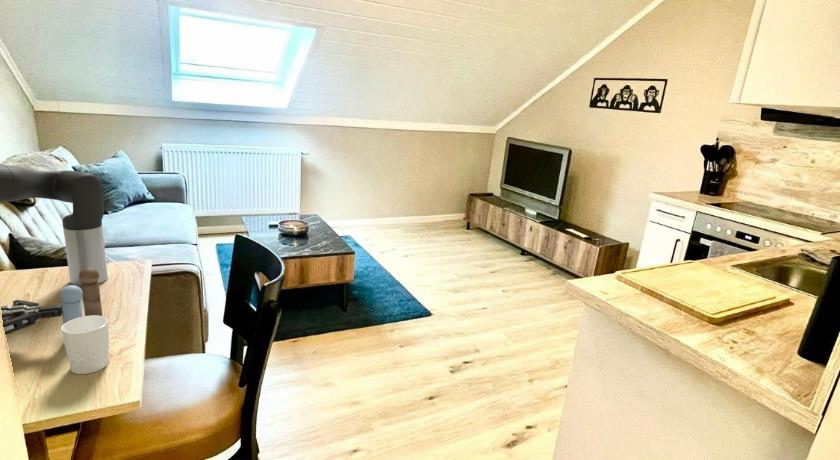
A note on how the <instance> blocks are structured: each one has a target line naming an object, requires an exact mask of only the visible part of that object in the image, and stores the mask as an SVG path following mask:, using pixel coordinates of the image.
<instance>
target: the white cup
mask: <svg viewBox="0 0 840 460" xmlns="http://www.w3.org/2000/svg"><path fill="white" fill-rule="evenodd" d="M60 329H61V335H62V339H63V343H64V349H65V352H66V357H67V360H68V363H69V367H70V371H71V373H74V374H76V375H87V374H92V373H95V372H98V371H101V370H102V369H104V368H105V367H107V366H108V365H109V363H110V351H109V350H110V344H109V343H110V336H109V335H110V334H109V319H108V318H107V317H106V316H103V315H102V316H97V315H92V316H85V315H84V316H83V317H79V318H75V319H73V320H70V321H68V322H66V323H65V324H64V325H63V324H62V325H61V327H60Z"/></svg>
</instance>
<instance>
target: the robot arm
mask: <svg viewBox="0 0 840 460" xmlns="http://www.w3.org/2000/svg"><path fill="white" fill-rule="evenodd" d="M103 189H104V188H103V184H102V182H101V180H100V178H99V177H98V176H97V175H95V174H93V173H90V172H84V171H83V172H82V171H75V170H33V169H28V168H24V167H20V166H15V165H9V164H8V165H7V164H0V203H6V202H7V203H9V202H16V201H22V200H25V199H32V198H33V199H35V198H36V199H47V200H55V201H60V202H64V203H70V204H72V213H71V214H67V215H66V216H63V218H62V220H61V221H62V230H63V238H64V244H65V252H66V258H67V259H66V260H67V266H68V276H69V282H70V285H75V286H78V287H81V281H80V280H79V273H80V272H81V271H82V270H83V269H85V268H94V269H96V270H97V271H98V272H99V279H98V281H99V284H101V283H104V282H105V281H107V280H108V277H109V276H108V268H107V267H108V266H107V257H106V248H105V239H104V230H103V222H102V221H103V218H104V213H105V206H104V201H105V200H104V190H103ZM0 307H1V310H2V320H3V327H4V331H5V335H9V334H12V333H15V332H17V331H20V330H22V329H25V328H29V327H31V326H33V325H35V324H36V322H38V321H41V320H42V319H49V318H55V317H61V316H63V314H62V304H55V305H54V304H53V305H46V306H41V305H40V304H39V302H34V301H29V300H21V299H15V300H12V304H11V305H9V304H8V305H7V304H6V305H2V306H0ZM5 335H4V336H5Z"/></svg>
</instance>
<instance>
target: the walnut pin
mask: <svg viewBox="0 0 840 460" xmlns="http://www.w3.org/2000/svg"><path fill="white" fill-rule="evenodd" d="M98 279H99V272H98V271H97V270H96V269H94V268H85V269H83V270H82V271H81V272H80V273H79V280H80V281H81V286H80V288H81V290H82V292H83V295H82V301H83V302H82V305H83V311H84V316H92V315H97V316H103V307H102V300H101V291H100V283H99V281H98Z"/></svg>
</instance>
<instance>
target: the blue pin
mask: <svg viewBox="0 0 840 460" xmlns="http://www.w3.org/2000/svg"><path fill="white" fill-rule="evenodd" d="M82 295H83V292H82V288H81V286H77V285H73V284H70V285H66V286H65V287H63V288H61V289H60V291H59V295H58V296H59V299H60V300H61V305H62V326H63V325H64V324H65V323H66V322H68V321H70V320H73V319H75V318H79V317H84V316H83V302H82V301H83V300H82V299H83V296H82Z"/></svg>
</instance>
